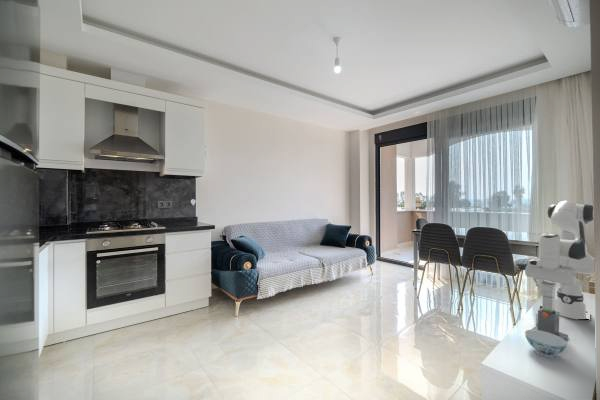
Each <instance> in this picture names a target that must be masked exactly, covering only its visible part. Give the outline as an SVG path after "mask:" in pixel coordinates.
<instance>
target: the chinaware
mask: <svg viewBox="0 0 600 400" xmlns="http://www.w3.org/2000/svg"><path fill="white" fill-rule="evenodd" d="M524 335H525V338H526V340H527V343H528V344H529V345H530V346H531V347H532V348H533V349H534V350H535V352H536V351H537V352H538V353H537V352H536V353H537V354H539V355H541V354H542V355H541V356H543V355H544V357H548V358H554V357H555V356H556V355H559V354H561V353H564V351H565V350H566V348H567V345H568V343H567V341H566V340H564V339H562V338H561V337H559V336H557V335H554V334H551V333H548V332H544V331H540V330H531V329H527V330H525V332H524Z"/></svg>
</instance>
